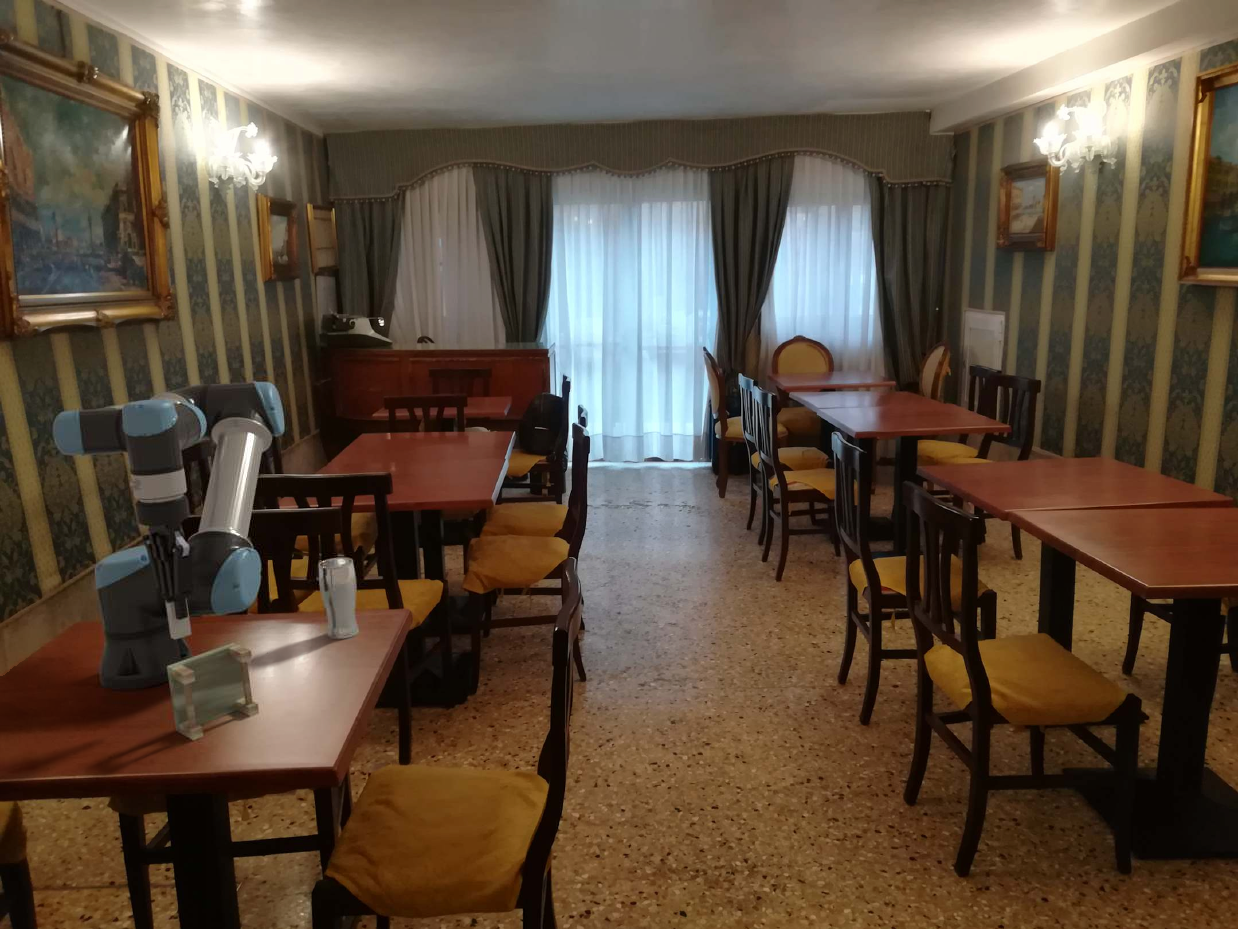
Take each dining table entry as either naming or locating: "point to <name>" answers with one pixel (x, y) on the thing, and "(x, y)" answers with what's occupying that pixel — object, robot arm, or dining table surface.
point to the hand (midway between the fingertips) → (181, 635)
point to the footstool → (210, 688)
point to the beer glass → (339, 596)
